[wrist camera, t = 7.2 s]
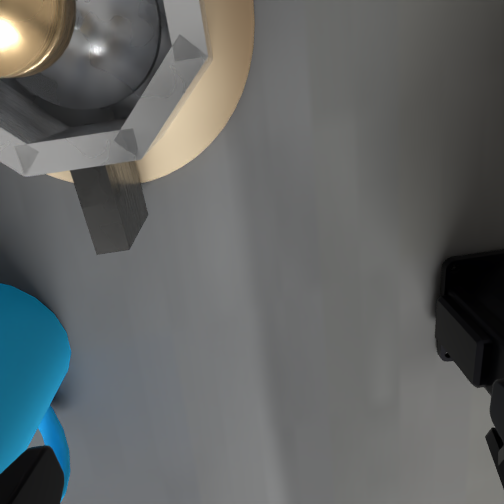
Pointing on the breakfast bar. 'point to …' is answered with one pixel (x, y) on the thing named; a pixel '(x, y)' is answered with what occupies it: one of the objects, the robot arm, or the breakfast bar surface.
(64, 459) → the mug
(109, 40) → the plunger
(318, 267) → the breakfast bar surface
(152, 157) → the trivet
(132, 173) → the grey piece
